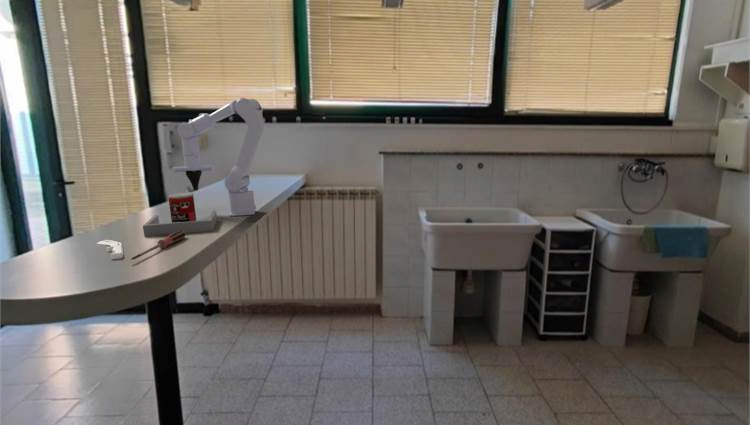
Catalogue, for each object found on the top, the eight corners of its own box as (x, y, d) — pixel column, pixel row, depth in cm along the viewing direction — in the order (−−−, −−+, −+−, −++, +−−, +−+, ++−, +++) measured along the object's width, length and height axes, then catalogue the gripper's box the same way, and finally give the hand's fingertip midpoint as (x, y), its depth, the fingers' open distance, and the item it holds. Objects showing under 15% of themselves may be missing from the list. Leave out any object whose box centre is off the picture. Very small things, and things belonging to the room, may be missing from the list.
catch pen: (217, 220, 149) (216, 210, 148) (212, 230, 135) (211, 220, 134) (155, 224, 144) (154, 215, 143) (144, 236, 130) (142, 225, 129)
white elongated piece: (91, 236, 129) (119, 232, 133) (92, 241, 129) (120, 236, 134) (88, 258, 104) (123, 252, 109) (89, 264, 105) (124, 258, 109)
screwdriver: (137, 265, 104) (135, 254, 103) (126, 265, 104) (124, 254, 103) (188, 237, 128) (187, 228, 127) (180, 237, 128) (178, 228, 127)
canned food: (167, 227, 140) (163, 196, 137) (182, 222, 147) (178, 192, 145) (187, 228, 138) (183, 196, 136) (201, 222, 146) (197, 192, 144)
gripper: (213, 153, 161) (216, 187, 164) (173, 155, 157) (177, 189, 160) (211, 154, 154) (214, 190, 157) (169, 156, 151) (174, 192, 154)
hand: (196, 190), depth 159 cm, fingers closed
